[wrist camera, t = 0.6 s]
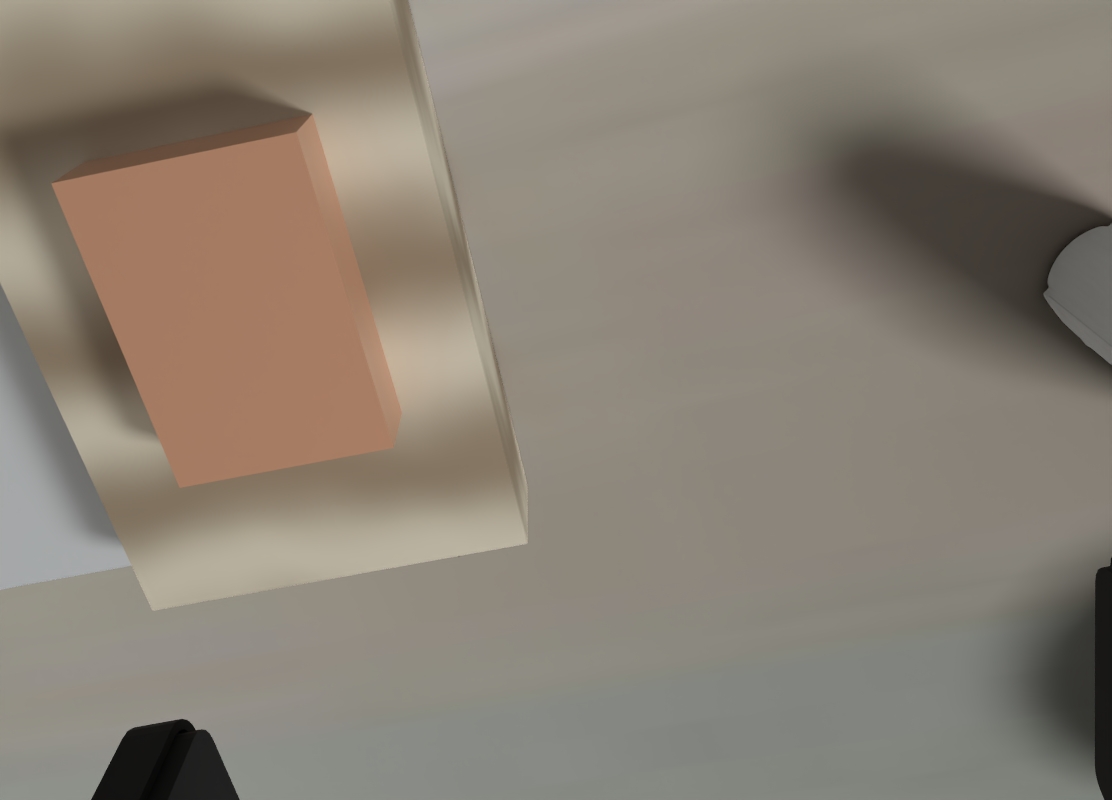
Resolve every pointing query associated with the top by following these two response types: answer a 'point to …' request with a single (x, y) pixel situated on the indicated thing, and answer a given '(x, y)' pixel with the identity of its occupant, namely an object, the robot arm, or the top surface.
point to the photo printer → (1085, 289)
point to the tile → (236, 299)
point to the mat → (43, 479)
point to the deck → (379, 246)
